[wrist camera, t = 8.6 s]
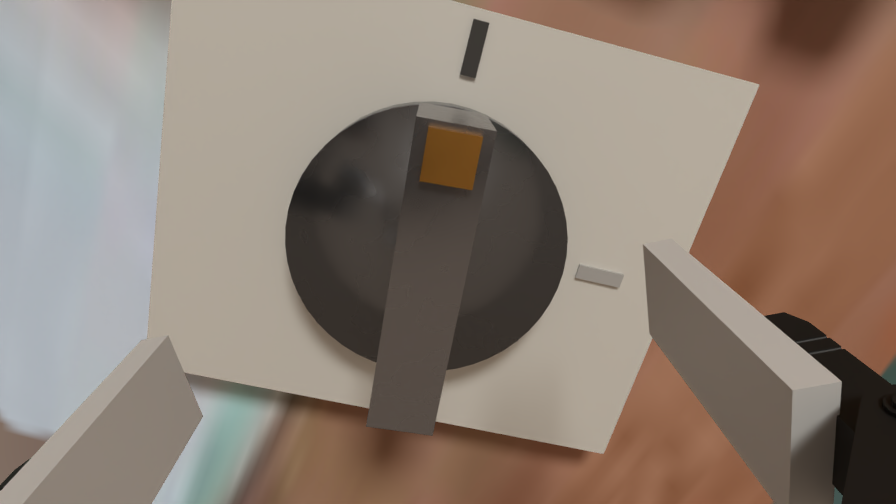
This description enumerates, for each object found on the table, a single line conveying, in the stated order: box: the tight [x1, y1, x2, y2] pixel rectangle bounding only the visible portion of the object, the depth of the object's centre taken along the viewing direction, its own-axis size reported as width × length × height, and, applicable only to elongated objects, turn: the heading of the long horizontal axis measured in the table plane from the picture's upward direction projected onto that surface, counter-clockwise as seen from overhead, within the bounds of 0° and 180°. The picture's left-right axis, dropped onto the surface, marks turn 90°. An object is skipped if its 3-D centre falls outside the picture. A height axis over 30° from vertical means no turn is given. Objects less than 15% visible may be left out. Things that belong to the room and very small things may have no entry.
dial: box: [285, 101, 568, 436], centre depth 21 cm, size 11×11×6 cm
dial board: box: [147, 0, 759, 454], centre depth 25 cm, size 22×18×2 cm
